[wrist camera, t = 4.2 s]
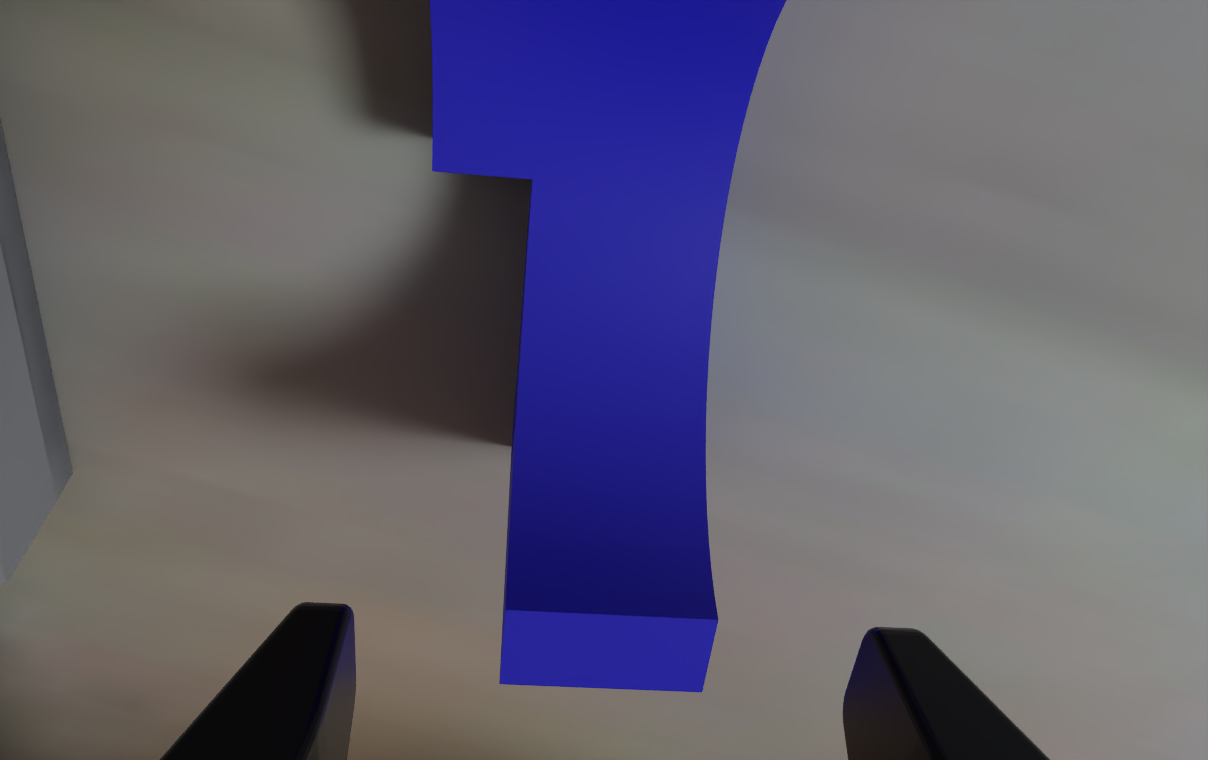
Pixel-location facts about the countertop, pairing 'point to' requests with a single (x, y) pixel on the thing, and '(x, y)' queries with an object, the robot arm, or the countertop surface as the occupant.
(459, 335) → the countertop surface
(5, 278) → the parts tray
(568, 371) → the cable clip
